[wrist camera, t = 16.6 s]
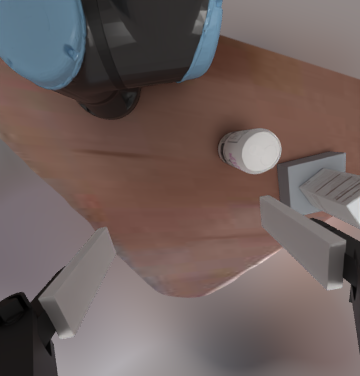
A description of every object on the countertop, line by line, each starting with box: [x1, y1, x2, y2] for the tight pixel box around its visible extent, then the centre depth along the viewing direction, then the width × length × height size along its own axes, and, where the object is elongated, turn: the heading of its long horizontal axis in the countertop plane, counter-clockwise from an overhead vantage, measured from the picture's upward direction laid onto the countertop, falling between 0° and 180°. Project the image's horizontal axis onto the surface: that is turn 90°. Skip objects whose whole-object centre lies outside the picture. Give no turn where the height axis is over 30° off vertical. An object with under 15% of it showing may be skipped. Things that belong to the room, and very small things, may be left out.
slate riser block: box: [277, 152, 346, 215], centre depth 45 cm, size 14×14×5 cm
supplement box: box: [299, 168, 360, 229], centre depth 37 cm, size 7×7×13 cm
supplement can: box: [218, 128, 282, 174], centre depth 37 cm, size 8×8×15 cm
